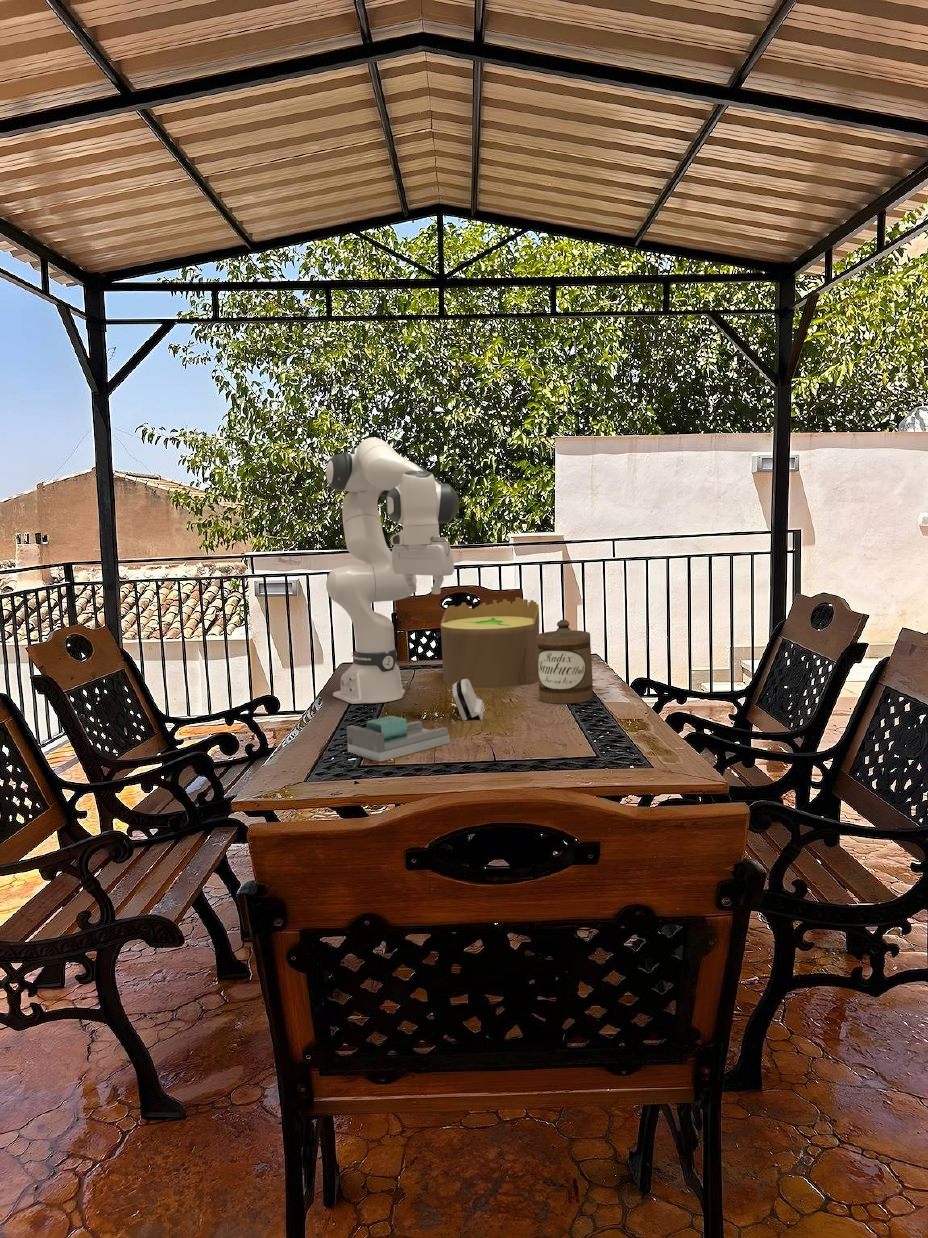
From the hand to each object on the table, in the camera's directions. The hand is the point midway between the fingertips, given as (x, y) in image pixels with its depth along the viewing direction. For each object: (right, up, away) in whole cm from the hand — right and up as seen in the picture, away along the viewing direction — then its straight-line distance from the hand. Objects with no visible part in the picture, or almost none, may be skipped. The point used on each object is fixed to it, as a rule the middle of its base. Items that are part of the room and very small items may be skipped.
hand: (423, 593), depth 222 cm
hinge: (+11, -32, +14) cm, 36 cm away
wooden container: (+38, -29, +27) cm, 55 cm away
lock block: (-7, -34, -20) cm, 40 cm away
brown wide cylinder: (+19, -25, +62) cm, 70 cm away
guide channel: (-5, -36, -17) cm, 40 cm away
